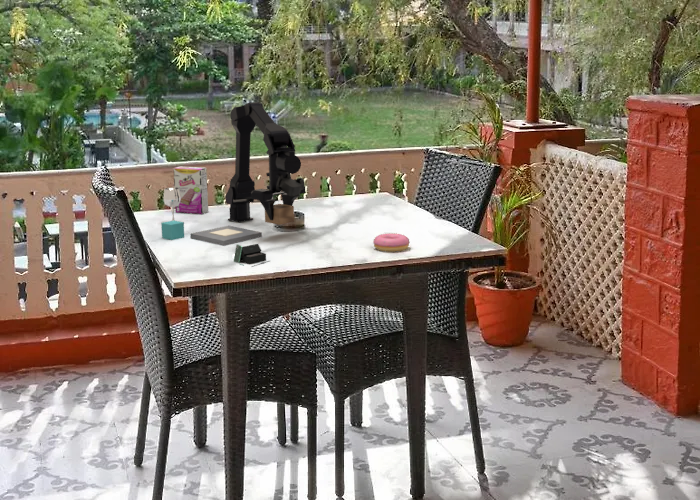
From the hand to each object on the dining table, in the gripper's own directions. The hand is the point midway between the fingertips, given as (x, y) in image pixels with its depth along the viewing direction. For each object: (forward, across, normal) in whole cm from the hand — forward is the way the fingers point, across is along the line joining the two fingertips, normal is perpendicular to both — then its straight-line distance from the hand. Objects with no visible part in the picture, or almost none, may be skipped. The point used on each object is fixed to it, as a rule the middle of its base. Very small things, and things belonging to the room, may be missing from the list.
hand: (279, 218), depth 303 cm
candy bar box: (+6, +7, +53) cm, 54 cm away
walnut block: (+1, 0, 0) cm, 1 cm away
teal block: (+6, -23, +25) cm, 35 cm away
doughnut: (+6, +10, -38) cm, 40 cm away
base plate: (+6, -12, +12) cm, 18 cm away
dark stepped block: (+7, -27, -17) cm, 33 cm away
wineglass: (+6, -9, +43) cm, 44 cm away
